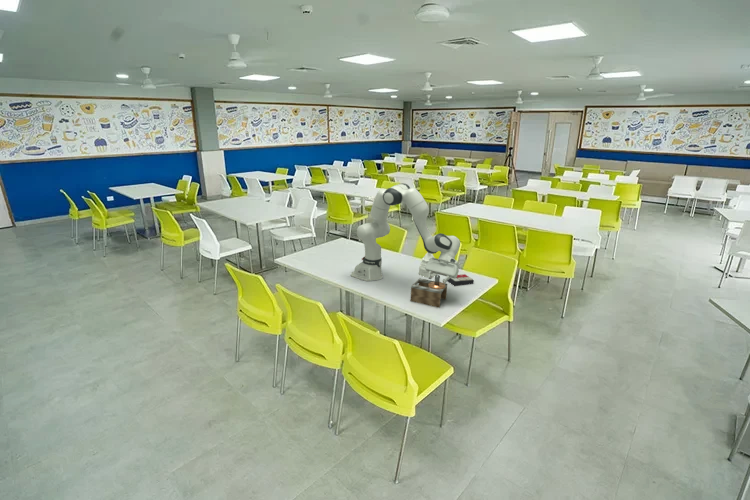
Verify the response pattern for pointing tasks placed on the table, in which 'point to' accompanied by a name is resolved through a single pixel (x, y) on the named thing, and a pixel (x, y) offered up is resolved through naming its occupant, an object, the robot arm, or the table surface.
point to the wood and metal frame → (427, 293)
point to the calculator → (461, 280)
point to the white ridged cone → (424, 262)
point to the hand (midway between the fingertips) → (436, 280)
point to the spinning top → (437, 284)
